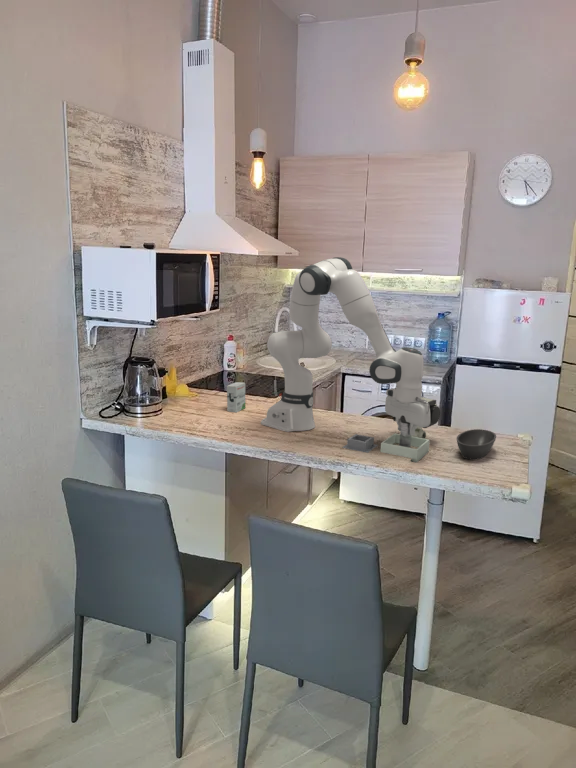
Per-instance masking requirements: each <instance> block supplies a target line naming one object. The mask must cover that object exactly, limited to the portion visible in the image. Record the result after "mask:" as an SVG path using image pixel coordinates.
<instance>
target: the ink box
mask: <svg viewBox="0 0 576 768" xmlns="http://www.w3.org/2000/svg"><path fill="white" fill-rule="evenodd" d="M226 395H227V396H226V398H227V399H226V402H227V403H226V406H227V408H226V409H227V412H229V413H230V412H231V413H235V414H236V413H238V412H240V411H243V410H245V409H246V383H245V382H240V381H239V382H236V381H235V382H233V383H230V384H228V385H227V386H226Z"/></svg>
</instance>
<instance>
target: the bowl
mask: <svg viewBox="0 0 576 768" xmlns="http://www.w3.org/2000/svg"><path fill="white" fill-rule="evenodd" d="M496 439H497V434H496V433H495V432H493V431H491V430H488V429H487V430H486V429H482V428H480V429H478V428H477V429H474V428H473V429H468V430H465V431H463V432H460V433H459V434H458V435H457V436H456V444H457V447H458V450H459V452H460V453H461V455H462V457H463V458H464V459H467V460H473V461H474V460H480V459H482V458H485V456H487V455H488V453H489V452H490V451H491V449H492V447H493V446H494V444H495V442H496Z"/></svg>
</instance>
